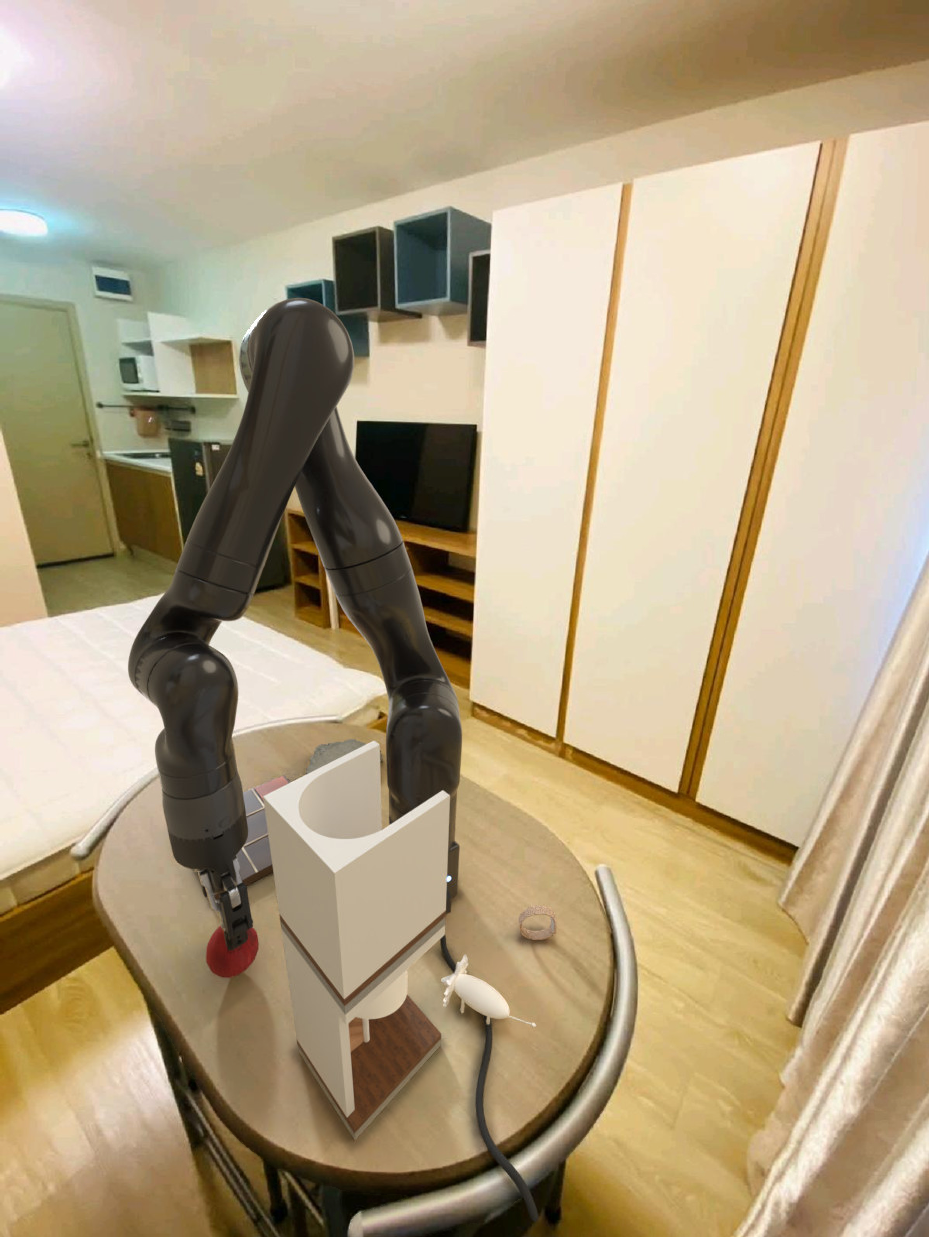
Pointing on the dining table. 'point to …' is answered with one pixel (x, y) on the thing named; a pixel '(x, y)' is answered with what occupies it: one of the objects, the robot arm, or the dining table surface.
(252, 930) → the onion
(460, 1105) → the dining table surface
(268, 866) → the grid board
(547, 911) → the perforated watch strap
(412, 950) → the white wooden tower stand
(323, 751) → the rock
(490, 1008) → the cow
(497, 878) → the dining table surface
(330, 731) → the dining table surface
